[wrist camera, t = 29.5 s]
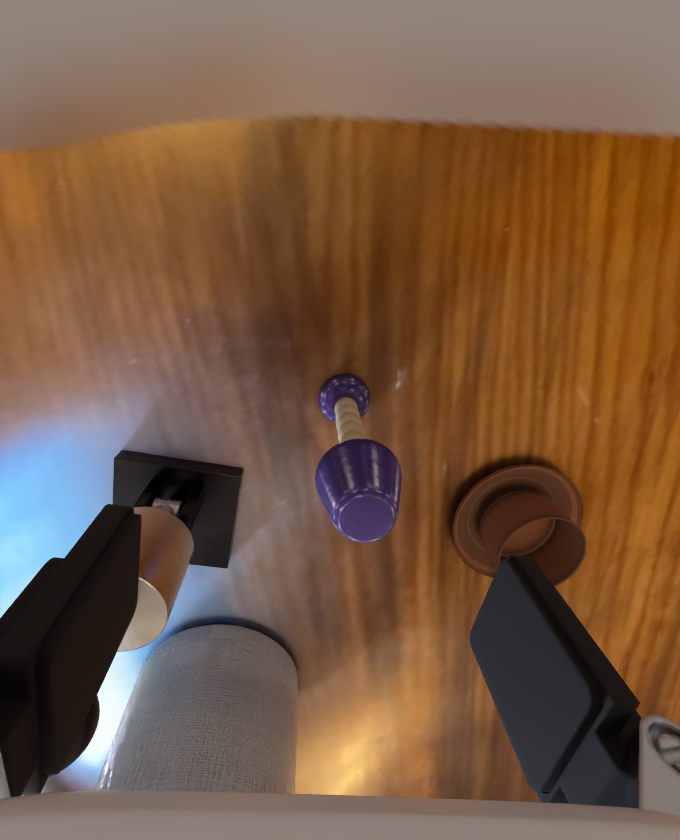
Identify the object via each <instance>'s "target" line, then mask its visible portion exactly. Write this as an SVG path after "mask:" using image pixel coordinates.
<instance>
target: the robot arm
mask: <svg viewBox="0 0 680 840" xmlns="http://www.w3.org/2000/svg"><path fill="white" fill-rule="evenodd" d="M141 522H142V517H141V515H140V514H134V508H133V507H127V506H119V505H112V504H107V505H106V506H105V507H104V508H103V509H102V511H101V512H100V513H99V514H98V516H97V517H96V518H95V520H94V521H93V522H92V523H91V525H90V526H89V527H88V529H87V530H86V531H85V532H84V534H83V535H82V536H81V538H80V539H79V540H78V541H77V543H76V544H75V545H74V547H73V548H72V549H71V551H70V552H69V553H68V554H67V556H66V557H65V558H55V557H54V558H52V559H50V560H49V561H48V562H47V563H46V564H45V565H44V566H43V567H42V568H41V570H40V571H39V572H38V573H37V574H36V576H35V577H34V578H33V579H32V581H31V582H30V583H29V584H28V585H27V587H26V588H25V589H24V590H23V591H22V593H21V594H20V595H19V596H18V598H17V599H16V600H15V601H14V602H13V604H12V605H11V606H10V607H9V608H8V610H7V611H6V612H5V613H4V615H3V616H2V617H1V618H0V840H680V724H678V723H676V722H674V721H672V720H670V719H668V718H666V717H663V716H660V715H656V714H651V715H646V716H644V717H643V718H641V717H640V716H639V714H638V713H637V711H636V708H637V707H638V705H639V704H640V702H639V701H638V700H637V698H636V697H635V696H634V694H633V693H632V691H631V690H630V689H629V687H628V686H627V685H626V683H625V682H624V681H623V679H622V678H621V677H620V675H619V674H618V672H617V671H616V670H615V668H614V667H613V666H612V664H611V663H610V662H609V660H608V659H607V658H606V656H605V655H604V653H603V652H602V651H601V649H600V648H599V647H598V645H597V644H596V643H595V641H594V640H593V639H592V637H591V636H590V634H589V633H588V632H587V630H586V629H585V628H584V626H583V625H582V624H581V622H580V621H579V620H578V618H577V617H576V615H575V614H574V613H573V611H572V610H571V609H570V607H569V606H568V605H567V603H566V602H565V601H564V599H563V598H562V596H561V595H560V594H559V592H558V591H557V590H556V588H555V587H554V586H553V584H552V583H551V582H550V580H549V579H548V577H547V576H546V575H545V573H544V572H543V571H542V569H541V568H540V567H539V565H538V564H537V563H536V561H535V560H534V559H533V558H530V557H523V556H515V555H510V556H508V557H507V558H506V560H502V561H501V563H500V564H499V567H498V569H497V571H496V574H495V576H494V578H493V581H492V583H491V585H490V588H489V590H488V592H487V595H486V597H485V599H484V602H483V604H482V606H481V609H480V611H479V613H478V616H477V618H476V620H475V623H474V625H473V627H472V630H471V633H470V644H471V647H472V650H473V652H474V655H475V657H476V659H477V662H478V664H479V667H480V669H481V671H482V674H483V676H484V679H485V681H486V683H487V686H488V688H489V691H490V693H491V695H492V698H493V700H494V703H495V705H496V707H497V710H498V712H499V715H500V717H501V719H502V722H503V724H504V727H505V729H506V731H507V734H508V736H509V739H510V741H511V743H512V746H513V748H514V751H515V753H516V755H517V758H518V760H519V762H520V765H521V767H522V770H523V772H524V774H525V777H526V779H527V782H528V784H529V786H530V787H531V788H532V790H534V791H535V792H537V794H538V796H539V798H540V801H541V803H540V802H515V801H490V800H464V799H436V798H406V797H376V796H345V795H313V794H276V793H238V792H201V791H102V790H94V791H72V792H49V793H41V791H42V789H43V787H44V785H45V782H46V780H47V778H48V776H49V774H58V773H59V772H60V771H61V769H62V768H63V766H64V764H65V762H66V760H67V758H68V756H69V753H70V751H71V749H72V747H73V745H74V743H75V741H76V738H77V736H78V734H79V732H80V730H81V728H82V726H83V723H84V721H85V719H86V717H87V715H88V713H89V711H90V708H91V706H92V704H93V702H94V700H95V698H96V696H97V693H98V691H99V689H100V687H101V685H102V683H103V680H104V678H105V676H106V674H107V672H108V670H109V668H110V665H111V663H112V661H113V659H114V657H115V655H116V653H117V650H118V648H119V646H120V644H121V642H122V640H123V638H124V635H125V633H126V631H127V629H128V627H129V625H130V623H131V620H132V618H133V616H134V613H135V610H136V607H137V602H138V585H139V564H140V543H141ZM21 795H24V796H21Z"/></svg>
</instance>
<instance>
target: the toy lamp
mask: <svg viewBox="0 0 680 840" xmlns="http://www.w3.org/2000/svg"><path fill="white" fill-rule="evenodd" d="M318 402H319V407H320V409H321V411H322V413H323V414H324V415H325V416H326V417H327V418H328V419H329V420H331V421H332V422H335V423H337V424H336V427H337V431H338V439H339V444H337V445H335V446H333V447H332V448H331V449H330V450H329V451H327V452H326V454H325V455H324V456H323V457H322V459H321V460H320V462H319V464H318V467H317V470H316V477H315V481H316V488H317V491H318V494H319V497H320V499H321V501H322V503H323V505H324V506H325V508H326V510H327V512H328V514H329V516H330V518H331V520H332V522H333V524H334V525H335V527H336V528H337V530H338V531H339V532H340V533H341V534H342V535H343V536H345V537H346V538H348V539H350V540H353V541H356V542H371V541H375V540H378V539H380V538H382V537H384V536H385V535H386V534H387V533H389V532H390V530H391V529H392V528H393V526H394V524H395V522H396V520H397V515H398V509H399V501H400V491H401V481H402V478H401V469H400V465H399V463H398V460H397V458H396V457H395V456H394V454H393V453H392V452H391V451H390V450H389V449H388V448H387V447H385V446H384V445H382V444H380V443H378V442H376V441H373V440H369V439H366V438H365V432H364V429H363V427H362V421H361V419H360V418H362V417H363V415H364V414H365V413H366V411H367V409H368V407H369V403H370V393H369V390H368V388H367V386H366V384H365V383H364V382H363V381H362V380H361V379H360V378H358V377H356V376H354V375H350V374H341V375H337V376H334V377H332V378H330V379H329V380H327V381H326V382H325V383H324V384H323V386H322V387H321V389H320V392H319V397H318Z"/></svg>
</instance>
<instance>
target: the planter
mask: <svg viewBox="0 0 680 840" xmlns="http://www.w3.org/2000/svg"><path fill="white" fill-rule="evenodd" d="M298 688H299V687H298V677H297V671H296V667H295V665H294V662H293V660H292V659H291V657H290V656H289V654H288V653H287V652H286V651H285V649H284V648H283V647H282V646H280V645H279V644H278V643H277V642H275V641H274V640H272V639H271V638H269V637H267V636H266V635H264V634H262V633H260V632H257V631H254V630H252V629H248V628H245V627H241V626H235V625H224V624H213V625H205V626H199V627H194V628H190V629H187V630H184V631H182V632H179V633H177V634H175V635H173V636H171V637H169V638H167V639H166V640H164V641H163V642H162V643H160V644H159V645H158V646H157V647H156V648H155V649H154V650H153V651H152V652H151V653H150V655H149V656H148V658H147V660H146V661H145V663H144V665H143V667H142V668H141V671H140V673H139V675H138V678H137V680H136V683H135V685H134V688H133V691H132V693H131V696H130V698H129V701H128V703H127V706H126V709H125V711H124V714H123V716H122V719H121V722H120V724H119V727H118V729H117V732H116V735H115V737H114V740H113V742H112V745H111V748H110V750H109V753H108V755H107V758H106V761H105V763H104V766H103V768H102V771H101V773H100V776H99V779H98V781H97V784H96V786H95V789H94V790H102V791H201V792H238V793H276V794H295V772H296V745H297V719H298Z"/></svg>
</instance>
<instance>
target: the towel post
mask: <svg viewBox="0 0 680 840" xmlns="http://www.w3.org/2000/svg"><path fill="white" fill-rule="evenodd" d="M182 509H183V501H180V500H173V499H165V498H158V497H157V498H155V500H154V501H153V504H152V507H135V508H134V514H140V515H141V517H142V522H141V543H140V564H139V585H138V602H137V607H136V610H135V613H134V616H133V618H132V620H131V623H130V625H129V627H128V629H127V631H126V633H125V635H124V638H123V640H122V642H121V644H120V646H119V648H118V650H117V652H119V651H129V650H134V649H138V648H141V647H143V646H146V645H148V644H149V643H151V642H152V641H154V640H155V639H156V638H157V637H158V636H159V635H160V634H161V633H162V632H163V630H164V628H165V626H166V623H167V621H168V618H169V616H170V613H171V610H172V608H173V605H174V602H175V600H176V597H177V595H178V592H179V589H180V587H181V584H182V581H183V579H184V576H185V574H186V571H187V568H188V566H189V563H190V560H191V558H192V555H193V551H194V543H193V538H192V535H191V533H190V531H189V529H188V528H187V526H186V525H185V524H184V523H183V522H182V521H181V520H180V513H181V511H182ZM99 712H100V709H99V701H98V697H97V696H96V698H95V700H94V702H93V704H92V706H91V708H90V711H89V713H88V715H87V717H86V719H85V721H84V723H83V726H82V728H81V730H80V732H79V734H78V736H77V738H76V741H75V743H74V745H73V747H72V749H71V751H70V753H69V756H68V758H67V760H66V762H65V764H64V766H63V768H62V769H61V771H62V770H63V769H65V768H66V767H68V766H69V765H70V764H72V763H73V762H74V761H75V760H76V759H77V758H78V757H79V756H80V755H81V754H82V752H83V751H84V750H85V749H86V747H87V746H88V744H89V743H90V741H91V739H92V737H93V735H94V733H95V730H96V728H97V724H98V720H99ZM52 775H54V774H49V776H52ZM49 776H48V777H49Z"/></svg>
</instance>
